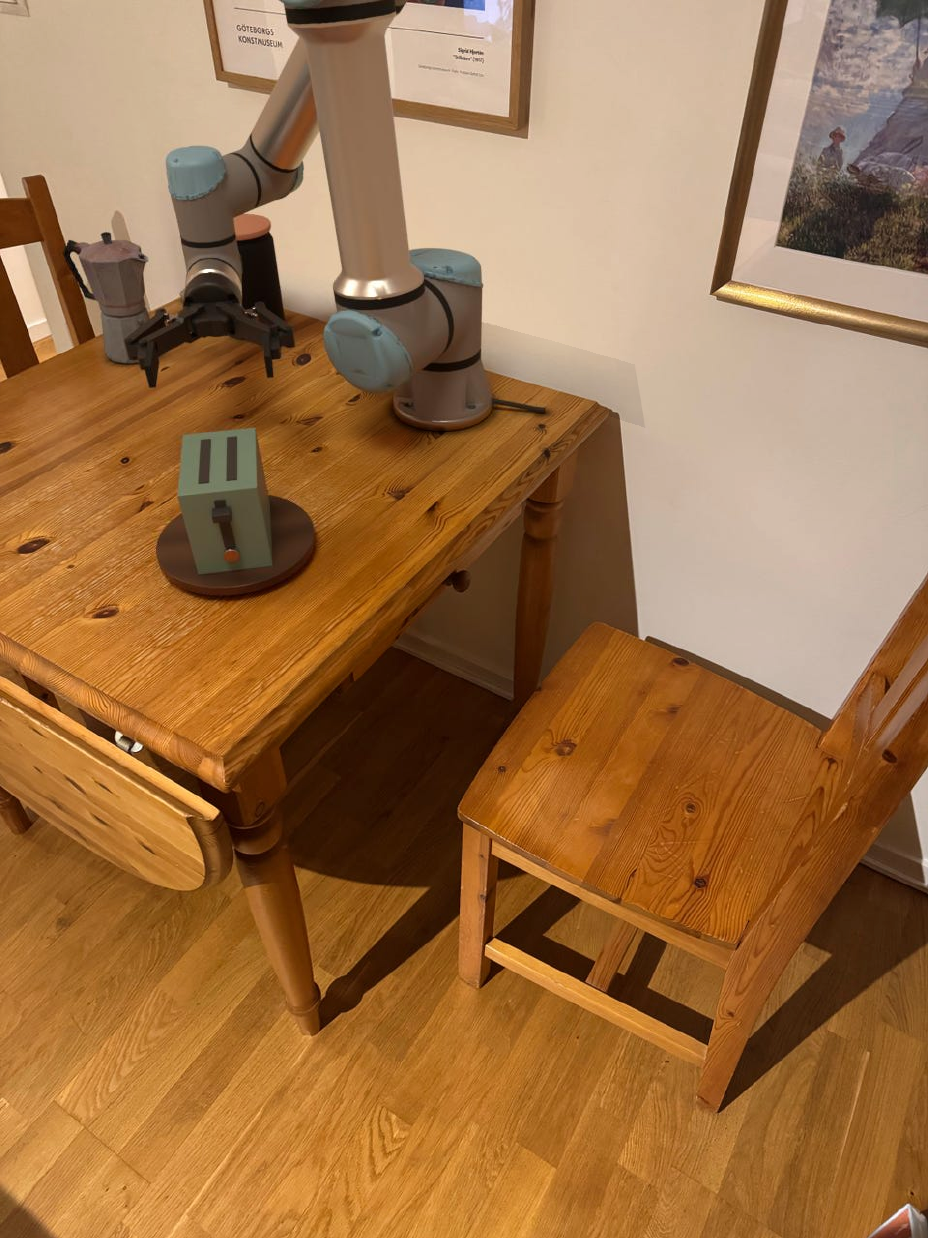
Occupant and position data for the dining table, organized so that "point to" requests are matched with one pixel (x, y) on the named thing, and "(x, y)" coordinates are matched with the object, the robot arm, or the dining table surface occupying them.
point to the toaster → (230, 520)
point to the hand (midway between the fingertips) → (209, 372)
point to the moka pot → (113, 288)
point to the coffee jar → (258, 263)
